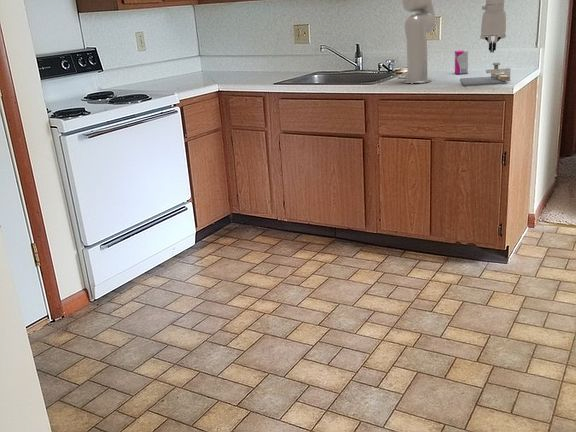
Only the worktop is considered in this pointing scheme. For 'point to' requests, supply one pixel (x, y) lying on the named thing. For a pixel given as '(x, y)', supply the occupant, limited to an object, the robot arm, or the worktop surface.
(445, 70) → the worktop surface
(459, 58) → the supplement box
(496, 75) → the link
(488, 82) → the base plate
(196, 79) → the worktop surface
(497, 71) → the keeper
